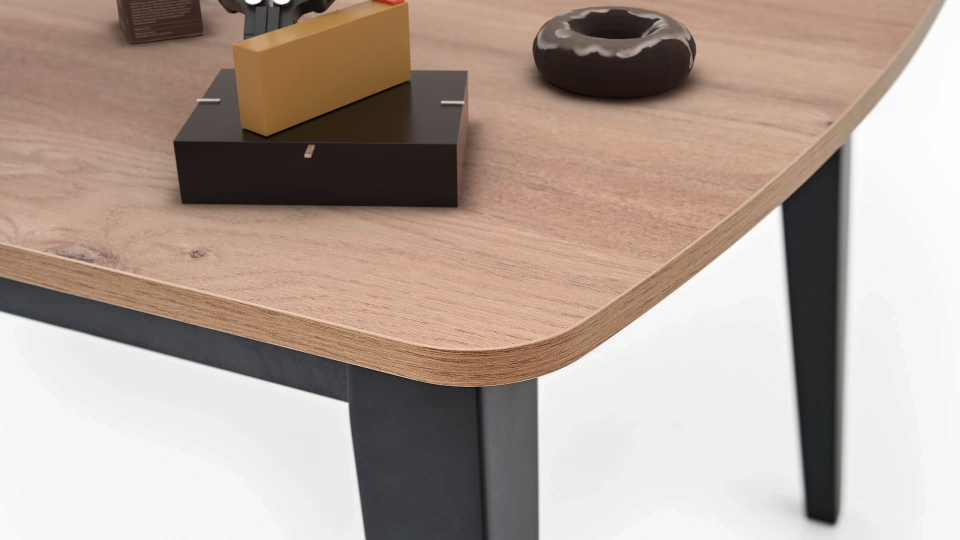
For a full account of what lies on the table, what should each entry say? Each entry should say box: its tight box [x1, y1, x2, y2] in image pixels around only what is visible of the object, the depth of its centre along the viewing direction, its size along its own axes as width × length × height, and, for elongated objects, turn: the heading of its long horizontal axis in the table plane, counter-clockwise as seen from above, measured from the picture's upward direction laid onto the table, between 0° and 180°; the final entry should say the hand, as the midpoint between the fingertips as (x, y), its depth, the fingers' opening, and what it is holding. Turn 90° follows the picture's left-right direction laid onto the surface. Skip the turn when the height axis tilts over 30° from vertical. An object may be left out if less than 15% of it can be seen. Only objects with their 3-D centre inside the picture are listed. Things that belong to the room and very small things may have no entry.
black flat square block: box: [172, 68, 469, 208], centre depth 74 cm, size 16×16×4 cm
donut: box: [531, 5, 697, 99], centre depth 87 cm, size 12×12×4 cm
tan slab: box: [231, 0, 412, 136], centre depth 72 cm, size 12×2×5 cm, turn 140°
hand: (267, 72), depth 71 cm, fingers closed
